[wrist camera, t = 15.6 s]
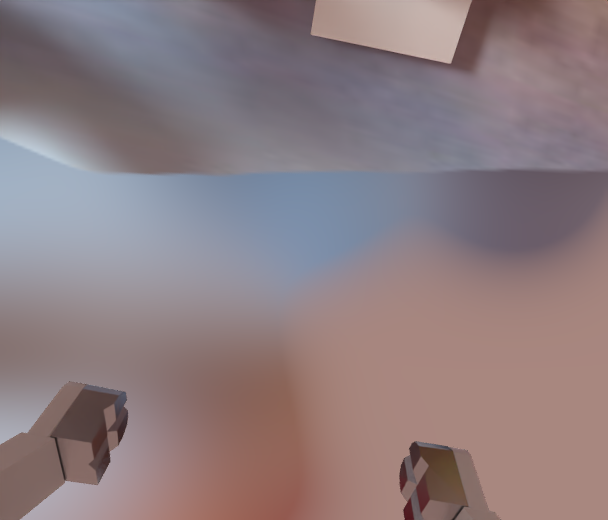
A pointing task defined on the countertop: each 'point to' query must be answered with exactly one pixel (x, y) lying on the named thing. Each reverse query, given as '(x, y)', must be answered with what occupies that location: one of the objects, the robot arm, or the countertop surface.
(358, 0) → the socket
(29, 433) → the robot arm
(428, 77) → the countertop surface
